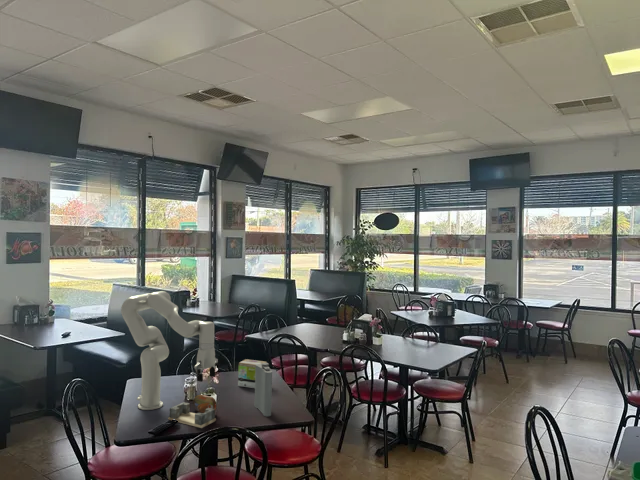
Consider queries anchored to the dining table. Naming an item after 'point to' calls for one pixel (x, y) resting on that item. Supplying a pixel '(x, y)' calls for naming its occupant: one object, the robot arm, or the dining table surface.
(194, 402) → the tin
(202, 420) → the stand
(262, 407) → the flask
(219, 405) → the dining table surface
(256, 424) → the dining table surface
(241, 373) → the retro computer
